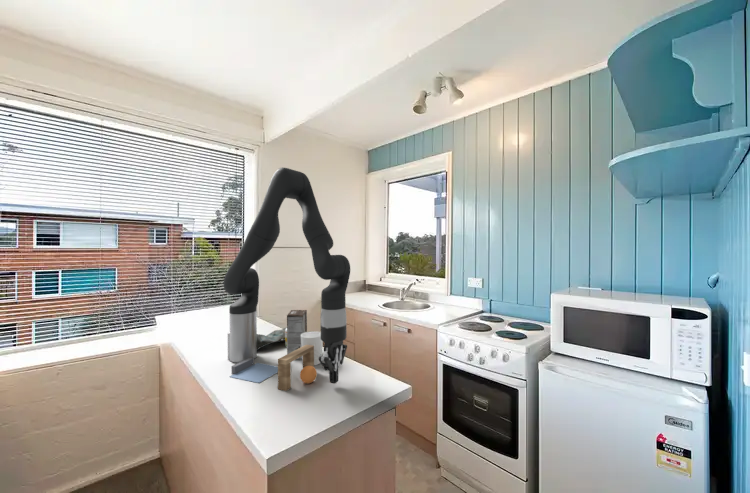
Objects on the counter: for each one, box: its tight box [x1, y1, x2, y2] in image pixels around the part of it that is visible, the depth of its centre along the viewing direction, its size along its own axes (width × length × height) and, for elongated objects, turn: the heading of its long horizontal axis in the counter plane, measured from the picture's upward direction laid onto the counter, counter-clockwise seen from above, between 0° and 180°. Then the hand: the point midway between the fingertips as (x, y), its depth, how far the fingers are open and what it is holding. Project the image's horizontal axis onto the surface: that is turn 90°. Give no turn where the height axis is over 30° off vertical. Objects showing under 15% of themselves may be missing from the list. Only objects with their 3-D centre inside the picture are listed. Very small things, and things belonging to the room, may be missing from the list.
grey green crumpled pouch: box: [257, 326, 287, 351], centre depth 129 cm, size 13×7×25 cm
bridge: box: [277, 345, 315, 392], centre depth 93 cm, size 3×14×9 cm, turn 158°
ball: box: [299, 366, 318, 384], centre depth 92 cm, size 5×5×5 cm
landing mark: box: [229, 362, 278, 384], centre depth 99 cm, size 12×12×1 cm
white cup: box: [301, 330, 324, 366], centre depth 108 cm, size 8×8×10 cm
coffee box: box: [286, 309, 308, 359], centre depth 116 cm, size 9×6×16 cm
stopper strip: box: [231, 358, 255, 375], centre depth 102 cm, size 2×8×2 cm, turn 158°
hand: (333, 382), depth 88 cm, fingers closed
